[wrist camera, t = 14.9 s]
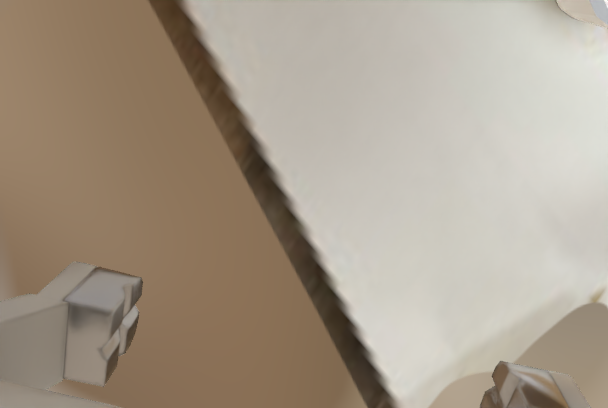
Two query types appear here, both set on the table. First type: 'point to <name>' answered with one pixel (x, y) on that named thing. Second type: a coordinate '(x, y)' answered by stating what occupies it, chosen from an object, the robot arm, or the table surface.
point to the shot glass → (586, 10)
